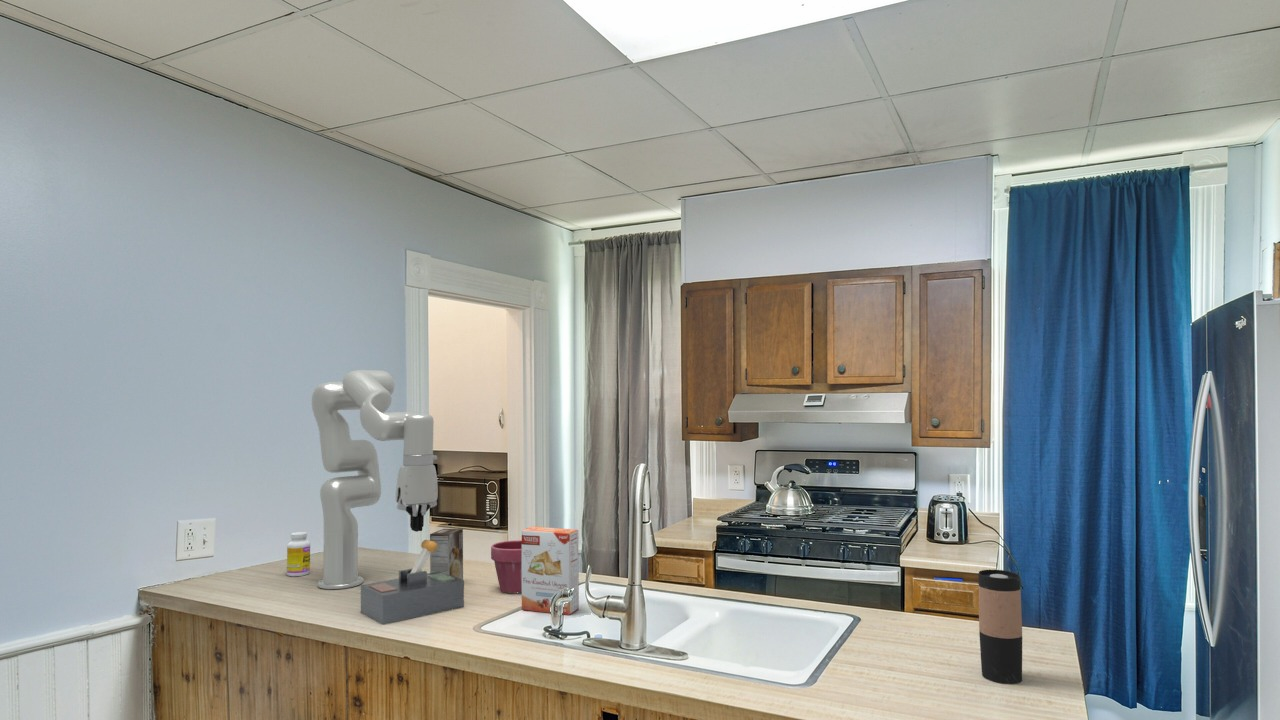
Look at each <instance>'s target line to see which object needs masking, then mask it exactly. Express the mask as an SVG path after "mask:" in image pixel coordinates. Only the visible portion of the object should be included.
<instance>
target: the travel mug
mask: <svg viewBox="0 0 1280 720" xmlns="http://www.w3.org/2000/svg"><path fill="white" fill-rule="evenodd" d="M977 575H978V576H977V577H978V578H977V579H978V581H977V582H978V583H977V584H978V631H979V633H978V634H979V645H980V648H979V650H980V663H981V664H980V665H981V667H980V668H981V675H982V678H984V679H986V680H988V681H989V682H994V683H997V684H1004V685H1015V684H1020V683H1021V682H1022V680H1023V618H1022V615H1023V614H1022V595H1021V594H1022V593H1021V589H1022V588H1021V576H1020V574H1019V573H1016V572H1014V571H1008V570H1004V569H982V570H979V571H978V573H977Z"/></svg>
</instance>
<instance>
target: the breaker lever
mask: <svg viewBox="0 0 1280 720" xmlns="http://www.w3.org/2000/svg"><path fill="white" fill-rule="evenodd" d="M420 547H421V551H420V553H419V555H418V557H417V558H416V561H415V563H414V565H413V567H412V568H413V569H412V568H411V569H412V571H411V573H415V572H421V571H423V568H424V567H425V564H426V563H427V561H428V559H429V558H430V553H431V552H434V551H435V550H436V549H437V544H436V543H435V542H433V541H430V539H425V540H422V541H421V544H420ZM409 574H410V573H409Z"/></svg>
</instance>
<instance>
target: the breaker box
mask: <svg viewBox="0 0 1280 720" xmlns="http://www.w3.org/2000/svg"><path fill="white" fill-rule="evenodd" d="M412 569H413V567H412V568H407V569H401V570H398V578H393V579H389V580H382V581H376V582H371V583H364V584H360V614H362V613H363V615H364V614H365V616H366V617H368V618H369V619H370V618H371V619H372V620H374V621H375V620H376V621H375V622H378V623H379V624H381V625H387V624H392V623H397V622H401V620H402V621H407V620H409V619H410V620H411V619H415V618H419V617H424V615H425V616H429V614H430V615H434V614H438V612H439V613H443V611H444V612H447V611H452V609H453V610H456V609H461V607H462V608H464V606H465V599H464V598H465V580H464V579H463V580H462V579H459V578H456V577H453V576H451V575H448V574H445V573H443V572H440V571H438V572H432V573H430V572H428V571H427V570H422V571H421V572H415V573H411V571H412ZM409 573H410V574H409Z"/></svg>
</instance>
